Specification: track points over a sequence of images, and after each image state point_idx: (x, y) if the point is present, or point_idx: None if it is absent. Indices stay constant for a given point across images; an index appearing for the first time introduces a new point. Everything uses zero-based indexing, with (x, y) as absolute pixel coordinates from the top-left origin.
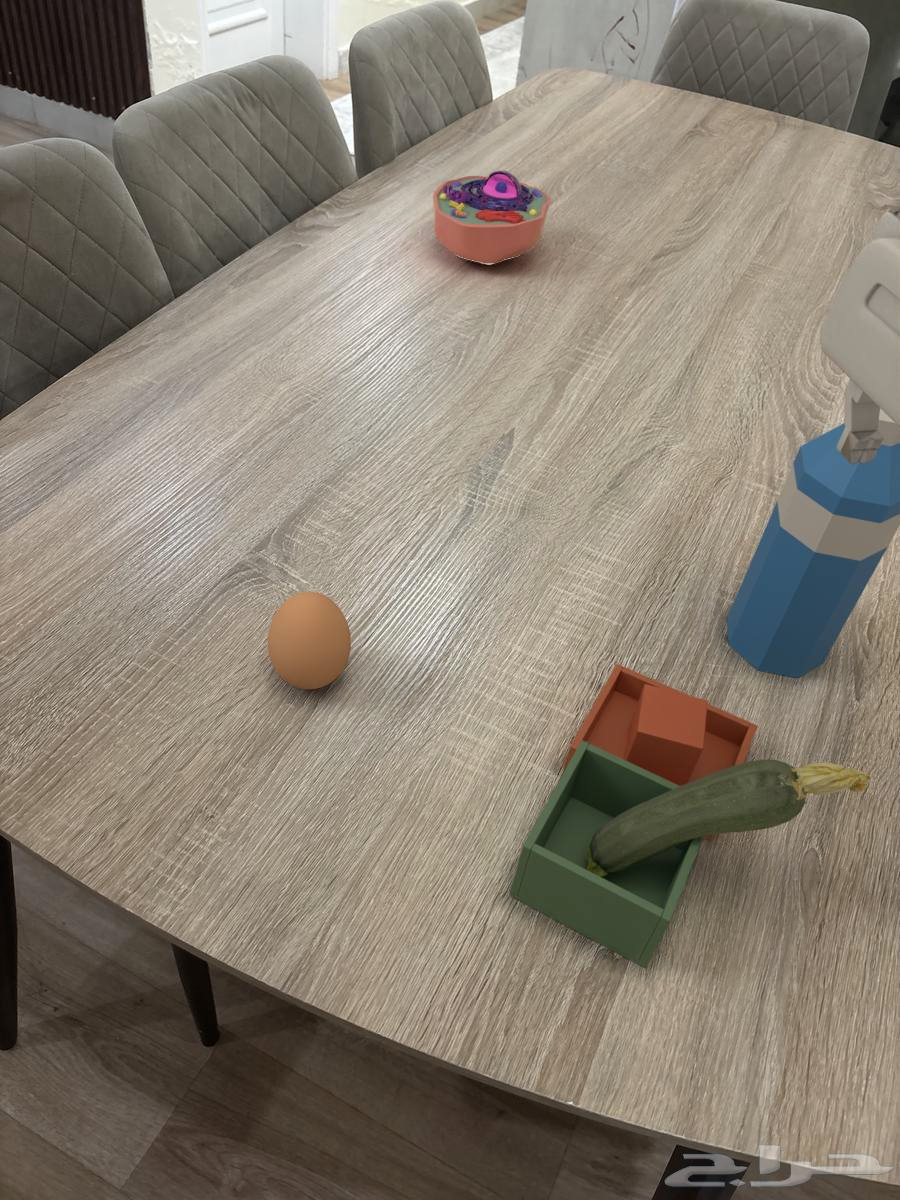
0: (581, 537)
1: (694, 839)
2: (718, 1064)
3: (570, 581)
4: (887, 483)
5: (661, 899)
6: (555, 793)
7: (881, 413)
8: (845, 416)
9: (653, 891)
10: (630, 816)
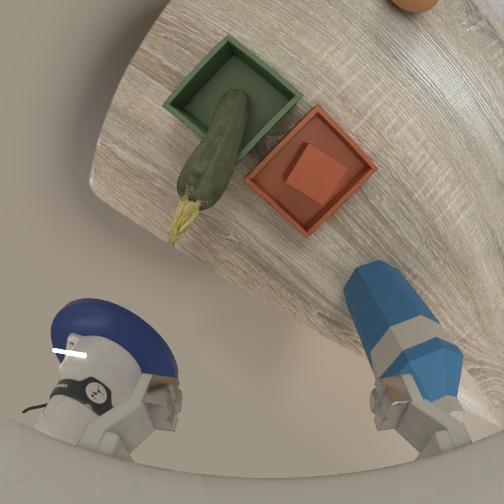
0: (477, 209)
1: None
2: (130, 131)
3: (451, 183)
4: None
5: None
6: (262, 62)
7: None
8: (434, 406)
9: None
10: (235, 105)
